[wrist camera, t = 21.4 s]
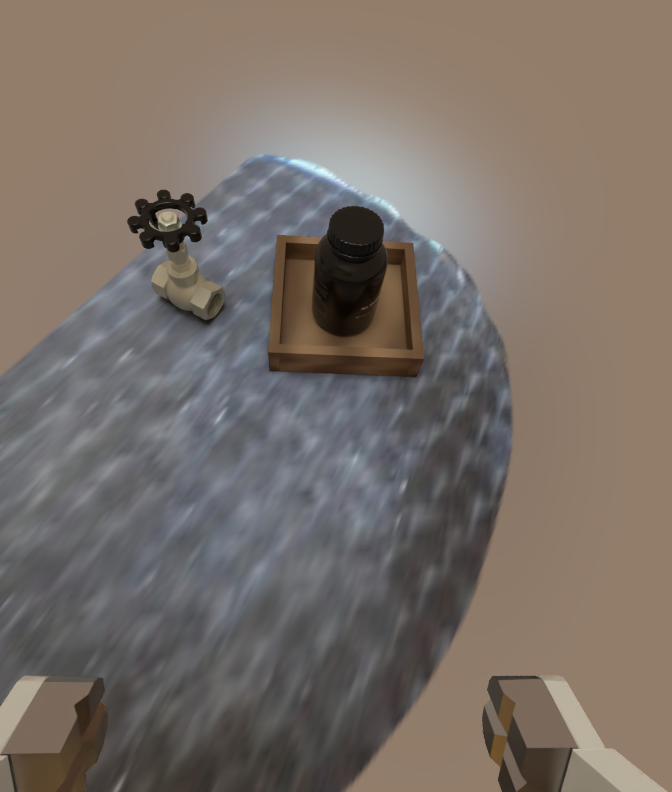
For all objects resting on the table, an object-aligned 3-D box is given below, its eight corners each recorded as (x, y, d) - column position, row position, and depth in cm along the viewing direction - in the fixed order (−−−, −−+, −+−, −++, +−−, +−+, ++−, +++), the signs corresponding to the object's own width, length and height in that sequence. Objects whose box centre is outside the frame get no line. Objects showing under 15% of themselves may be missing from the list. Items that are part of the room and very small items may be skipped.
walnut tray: (269, 370, 50) (268, 352, 47) (277, 257, 57) (277, 234, 54) (416, 376, 51) (424, 358, 48) (406, 264, 58) (413, 243, 55)
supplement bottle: (372, 341, 51) (393, 261, 41) (307, 332, 51) (311, 249, 40) (377, 289, 54) (397, 202, 44) (315, 281, 54) (321, 191, 44)
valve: (186, 269, 55) (160, 178, 44) (235, 295, 54) (221, 208, 43) (147, 310, 52) (109, 223, 41) (198, 338, 51) (173, 256, 40)
